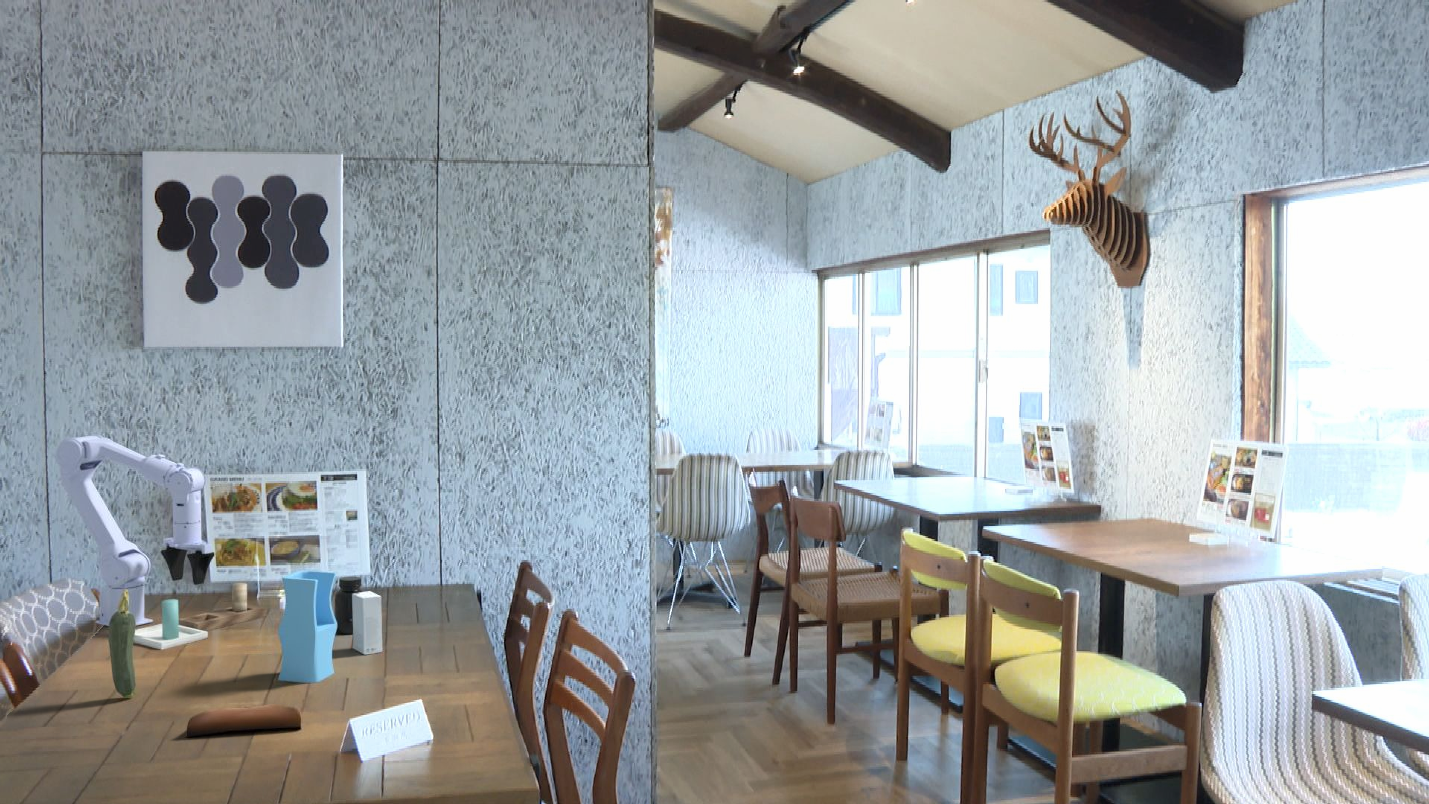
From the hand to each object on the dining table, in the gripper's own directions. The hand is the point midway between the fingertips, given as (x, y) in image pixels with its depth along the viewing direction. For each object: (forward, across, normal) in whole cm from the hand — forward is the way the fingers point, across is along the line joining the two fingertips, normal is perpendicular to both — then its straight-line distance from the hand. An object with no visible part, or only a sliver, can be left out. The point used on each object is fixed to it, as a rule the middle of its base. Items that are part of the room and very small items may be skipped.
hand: (188, 581), depth 255 cm
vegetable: (+11, +35, -38) cm, 53 cm away
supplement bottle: (+11, +32, +18) cm, 38 cm away
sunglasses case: (+11, +65, -35) cm, 75 cm away
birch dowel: (+10, +3, +11) cm, 16 cm away
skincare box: (+11, +47, +9) cm, 49 cm away
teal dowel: (+10, +7, -9) cm, 15 cm away
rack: (+10, +3, +7) cm, 13 cm away
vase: (+11, +51, -10) cm, 53 cm away
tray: (+10, +5, -9) cm, 15 cm away
